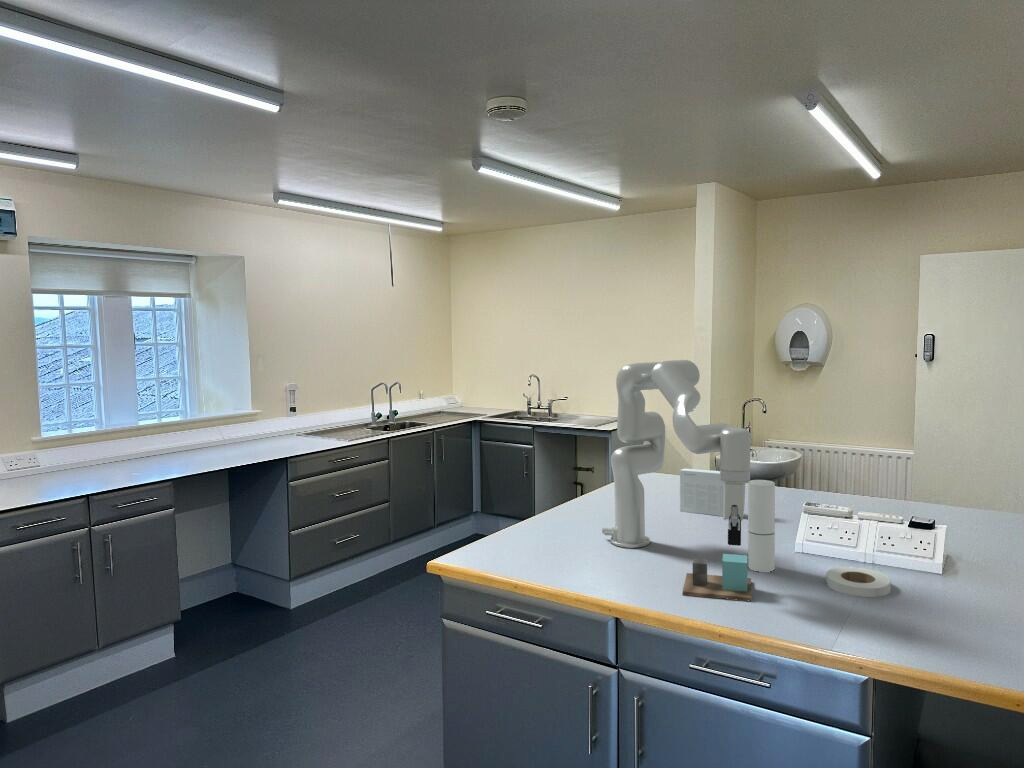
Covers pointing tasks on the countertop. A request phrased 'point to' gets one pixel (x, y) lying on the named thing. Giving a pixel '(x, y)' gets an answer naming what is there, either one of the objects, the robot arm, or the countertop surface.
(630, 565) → the countertop surface
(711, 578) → the walnut board
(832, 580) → the roll of tape
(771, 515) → the cylindrical container
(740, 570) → the aqua foam cube
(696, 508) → the skincare box
